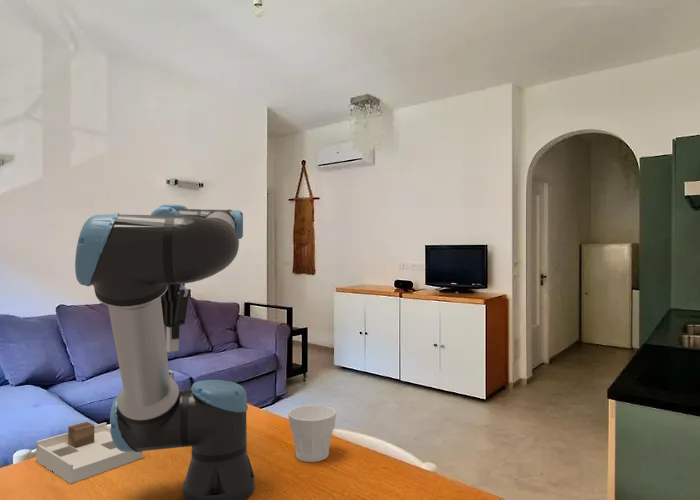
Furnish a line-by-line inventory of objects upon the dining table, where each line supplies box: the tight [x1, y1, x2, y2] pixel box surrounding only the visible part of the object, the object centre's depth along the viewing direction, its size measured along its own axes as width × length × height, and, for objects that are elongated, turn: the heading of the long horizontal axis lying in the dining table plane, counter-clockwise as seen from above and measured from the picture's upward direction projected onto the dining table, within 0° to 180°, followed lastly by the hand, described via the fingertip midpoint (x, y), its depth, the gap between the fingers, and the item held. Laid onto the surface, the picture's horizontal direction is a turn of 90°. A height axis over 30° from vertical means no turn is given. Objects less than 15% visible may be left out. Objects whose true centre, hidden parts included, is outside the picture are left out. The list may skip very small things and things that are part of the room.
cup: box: [287, 404, 337, 463], centre depth 118 cm, size 12×12×11 cm
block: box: [67, 421, 95, 448], centre depth 119 cm, size 4×4×4 cm
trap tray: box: [35, 422, 144, 485], centre depth 116 cm, size 20×17×5 cm
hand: (172, 350), depth 122 cm, fingers closed
